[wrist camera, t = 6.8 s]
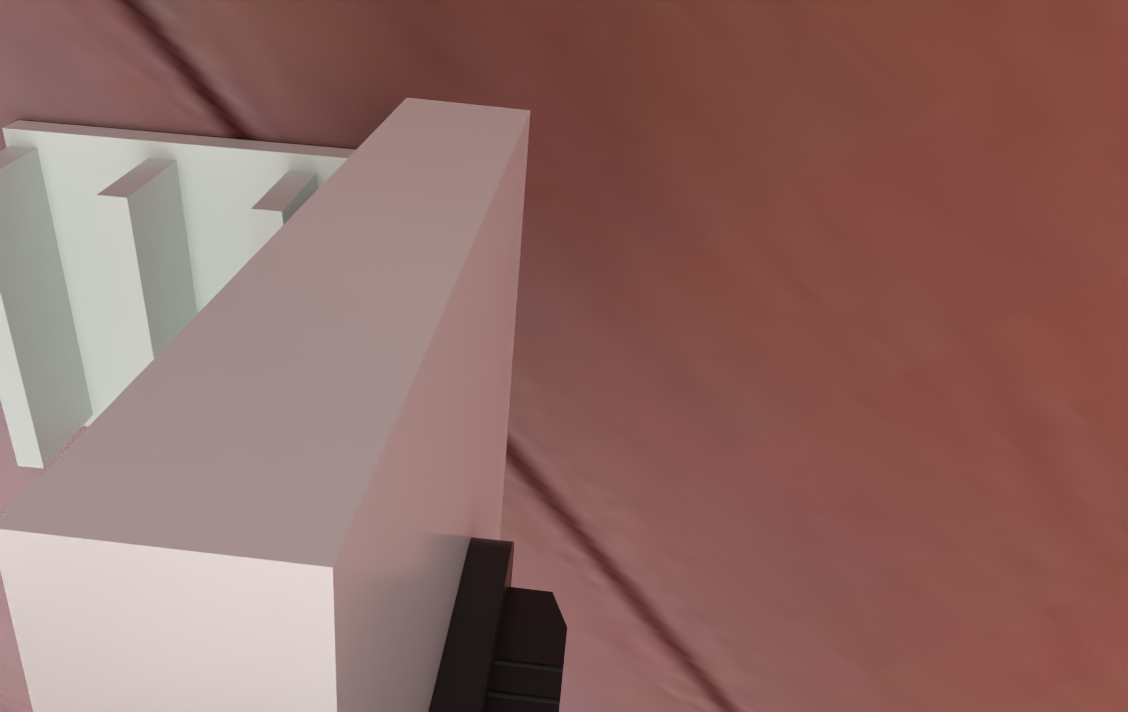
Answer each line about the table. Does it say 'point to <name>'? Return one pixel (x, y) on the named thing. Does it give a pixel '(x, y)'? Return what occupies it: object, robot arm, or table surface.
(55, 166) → the rack
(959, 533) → the table surface
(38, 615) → the plate
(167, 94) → the table surface
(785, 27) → the table surface
